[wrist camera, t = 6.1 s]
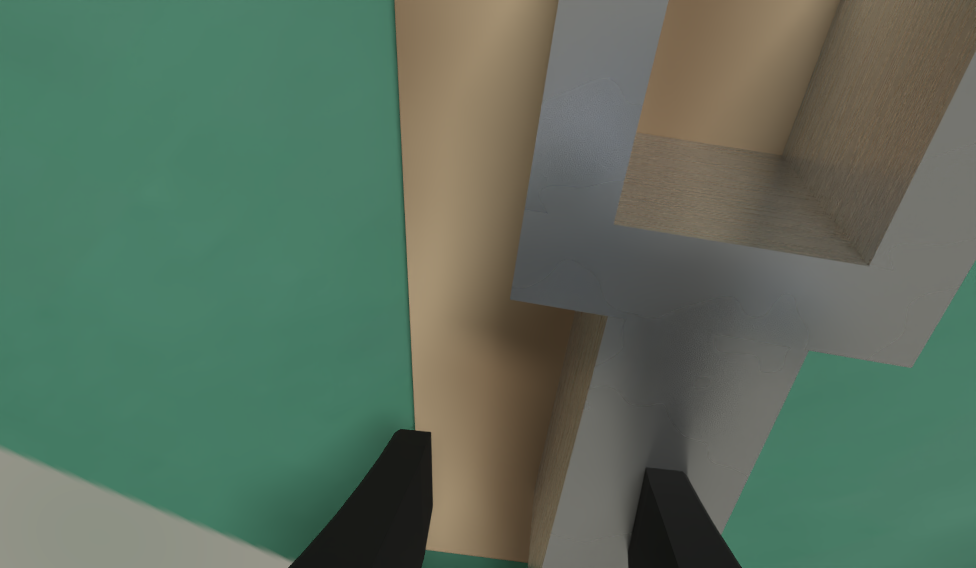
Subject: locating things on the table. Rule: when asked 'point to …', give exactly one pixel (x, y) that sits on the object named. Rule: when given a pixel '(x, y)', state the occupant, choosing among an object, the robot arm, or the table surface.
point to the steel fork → (732, 252)
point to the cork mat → (500, 209)
